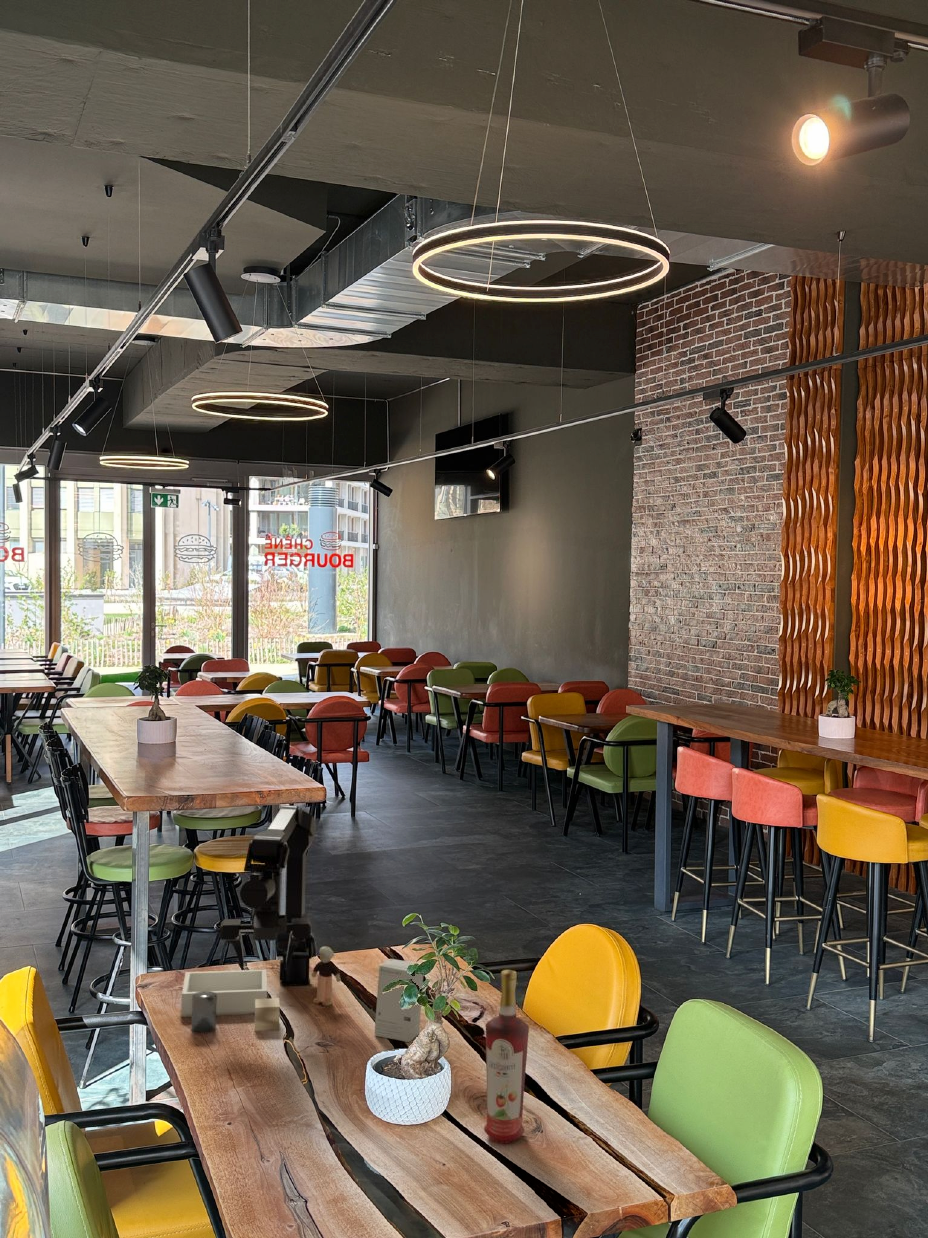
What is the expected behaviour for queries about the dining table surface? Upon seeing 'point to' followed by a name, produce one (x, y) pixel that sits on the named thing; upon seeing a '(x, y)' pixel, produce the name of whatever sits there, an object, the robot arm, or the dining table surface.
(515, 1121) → the liquor
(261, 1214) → the dining table surface
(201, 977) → the tote
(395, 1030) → the skincare box
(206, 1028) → the metal cylinder
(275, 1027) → the wood cube
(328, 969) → the grandmother figurine
